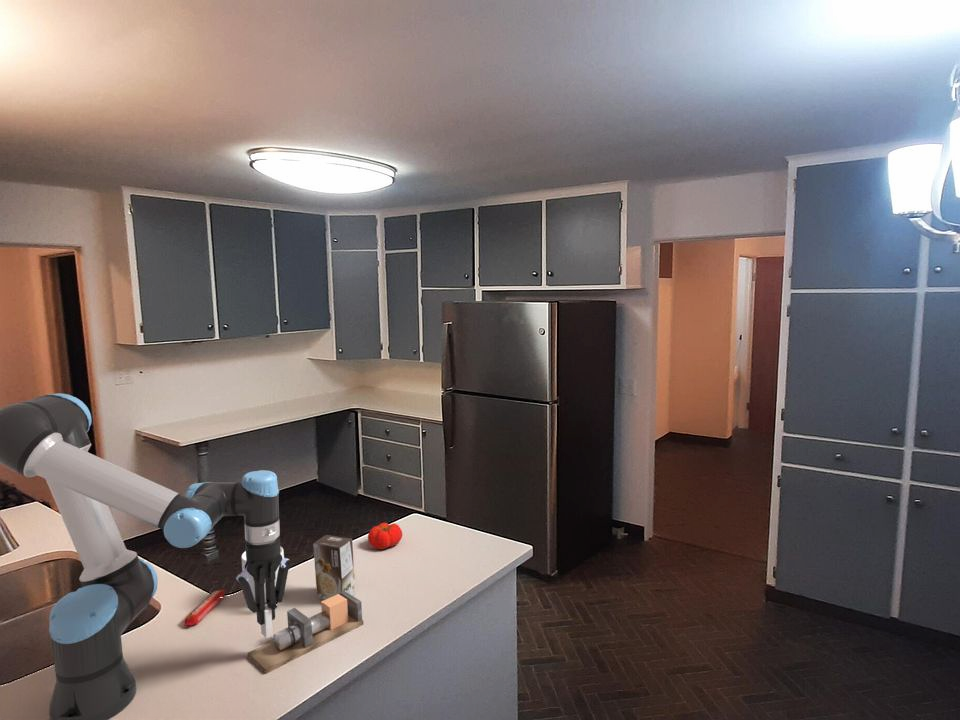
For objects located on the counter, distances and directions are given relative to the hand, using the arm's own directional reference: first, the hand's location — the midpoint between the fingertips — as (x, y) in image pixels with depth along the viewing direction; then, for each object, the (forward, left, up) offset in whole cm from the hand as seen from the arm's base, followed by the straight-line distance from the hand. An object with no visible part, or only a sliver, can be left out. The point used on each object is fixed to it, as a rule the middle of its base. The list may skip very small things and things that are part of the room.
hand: (266, 634), depth 138 cm
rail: (+9, -2, -5) cm, 11 cm away
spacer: (+17, -2, -4) cm, 17 cm away
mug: (+11, +24, -5) cm, 27 cm away
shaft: (+8, -2, -4) cm, 9 cm away
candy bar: (-3, +30, -5) cm, 31 cm away
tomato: (+54, +27, -5) cm, 61 cm away
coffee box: (+25, +11, -5) cm, 28 cm away
